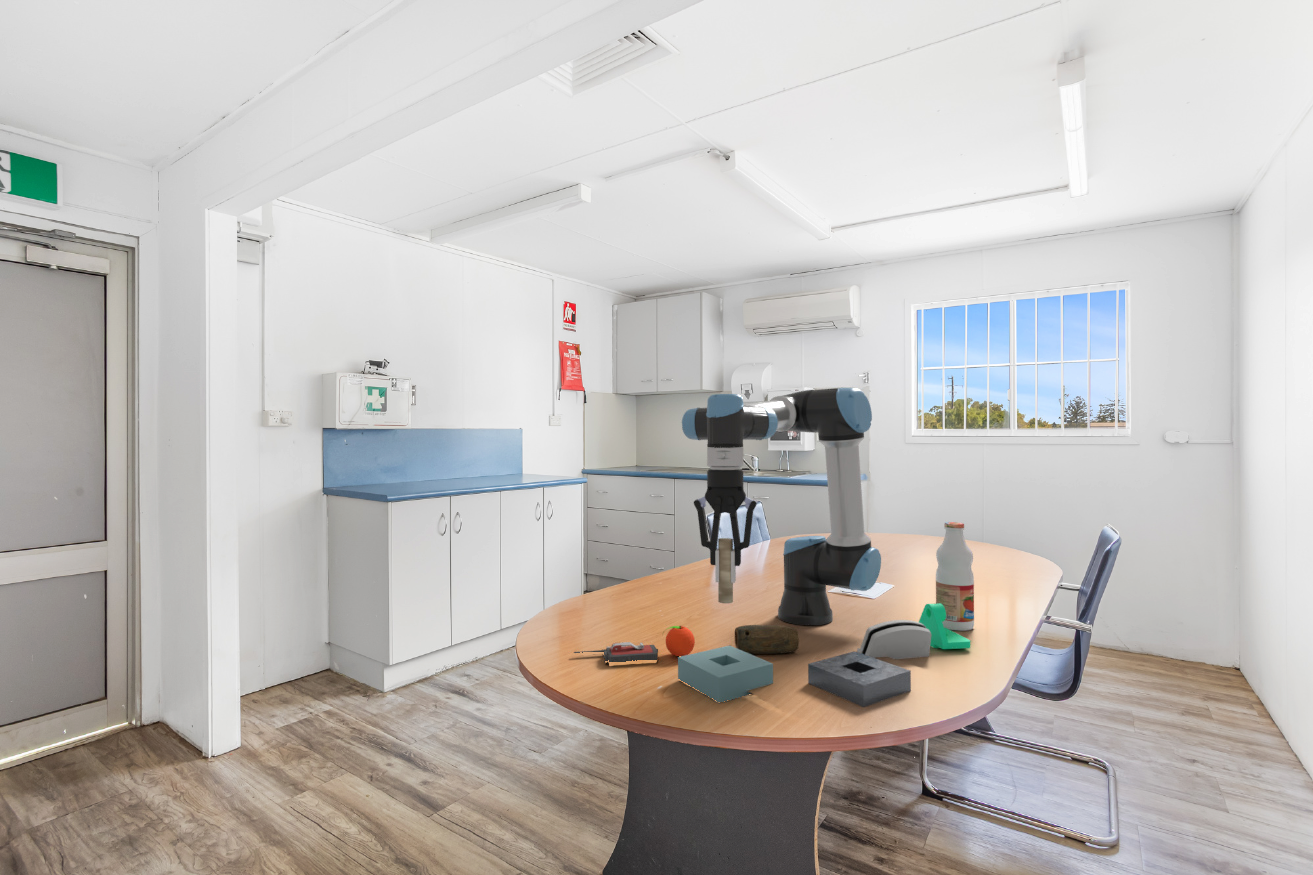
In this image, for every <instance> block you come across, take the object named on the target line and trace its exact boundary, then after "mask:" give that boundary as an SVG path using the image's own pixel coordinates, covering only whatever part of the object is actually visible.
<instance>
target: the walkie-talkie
mask: <svg viewBox="0 0 1313 875" xmlns="http://www.w3.org/2000/svg"><path fill="white" fill-rule="evenodd" d="M580 652H582V653H583V652H604V655H605V656H604V655H603V659H604V658H605V660H604V662H605V661H608V660H609V662H626V661H632V660H633V661H635V660H636V661H637V660H657V659H658V658H659V657H658V655H659V649H658V648H657V647H656V646H655V644H645V645H644V644H643V642H639V645H635V644H634V643H632V642H630V641H624V642H615V643H614V642H613V643H612V644H611V646H606V649H600V650H599V649H598V650H597V649H596V650H584V651H583V650H582V651H574V652H573V653H580ZM658 660H659V659H658Z"/></svg>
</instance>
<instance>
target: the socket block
mask: <svg viewBox="0 0 1313 875" xmlns="http://www.w3.org/2000/svg"><path fill="white" fill-rule="evenodd" d="M678 679H680V680H681V681H683V682H685V683H687V684H688V685H690V686H691V687H694V688H695V689H697V690H699V691H700V692H702V693H704V694H706V695H707V696H709V697H710V698H713V699H714V700H716V701H717V702H716V701H715V702H716V703H718V702H723V703H725V702H724V701H726V702H728V701H727V700H730V701H733V700H736V699H735V698H737V699H739V697H740V698H742V696H744V697H748V696H750V695H749V694H751V695H753V693H752V692H750V691H751V690H755V689H759V688H761V687H765V686H769V685H772V684H774V664H773V662H770V661H768V660H765V659H763V658H761V657H758V656H756V655H755V654H749V653H746V652H744V651H742V650H739V649H737V648H736V647H734V646H732V645H726V646H721V647H717V648H711V649H708V650H704V651H698V652H695V653H691V654H690V653H689V654H688V655H685V656H681V657H677V680H678ZM707 696H706V697H707ZM710 698H709V699H710ZM732 699H733V700H732ZM714 700H713V701H714Z"/></svg>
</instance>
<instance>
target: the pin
mask: <svg viewBox="0 0 1313 875" xmlns="http://www.w3.org/2000/svg"><path fill="white" fill-rule="evenodd" d="M717 549H718V550H719V582H717V583H718V590H717V591H718V592H717V594H718V596H717V598H718V603H719V604H720V603H721V604H732V603H733V602H734V583H731V551H733V549H734V542H733V538H729V537H722V538H721V537H719V538H718V542H717Z"/></svg>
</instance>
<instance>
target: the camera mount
mask: <svg viewBox="0 0 1313 875" xmlns="http://www.w3.org/2000/svg"><path fill="white" fill-rule="evenodd" d="M945 619H946V610H945V608H944V606H943V605H942V604H941V603H937V604H936V603H925V605H924V607H923V610H922V612H921V615H920V617H919V620H918V622H919V623H921V624H923V625H924V626H925V627H926V628H927V629H929V631H930V633H931V643H930V648H931V647H932V648H933V649H941V650H953V649H970V648H971V640H970V639H968V638H967V637H965V636H963V635H961V634H959V633H957V632H955V631H954V630H949V629H947V628H945V627H944V626H943V623H942V622H943V621H945Z"/></svg>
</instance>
